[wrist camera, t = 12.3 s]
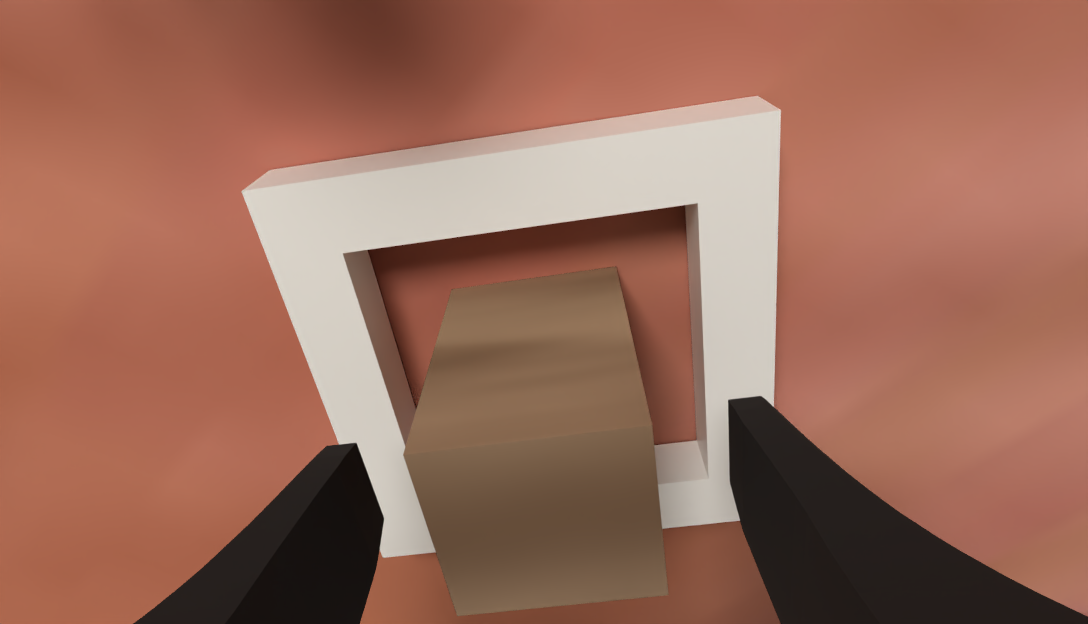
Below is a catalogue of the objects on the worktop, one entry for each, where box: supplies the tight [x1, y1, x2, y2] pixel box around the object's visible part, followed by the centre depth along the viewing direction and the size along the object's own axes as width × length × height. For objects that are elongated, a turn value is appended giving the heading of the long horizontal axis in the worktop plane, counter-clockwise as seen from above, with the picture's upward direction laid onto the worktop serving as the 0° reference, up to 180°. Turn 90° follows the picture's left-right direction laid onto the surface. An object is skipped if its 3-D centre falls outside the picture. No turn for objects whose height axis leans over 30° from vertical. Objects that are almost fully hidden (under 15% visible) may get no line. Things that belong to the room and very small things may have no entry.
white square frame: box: [242, 96, 781, 558], centre depth 16 cm, size 11×11×2 cm
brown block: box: [403, 266, 668, 616], centre depth 14 cm, size 4×4×6 cm
